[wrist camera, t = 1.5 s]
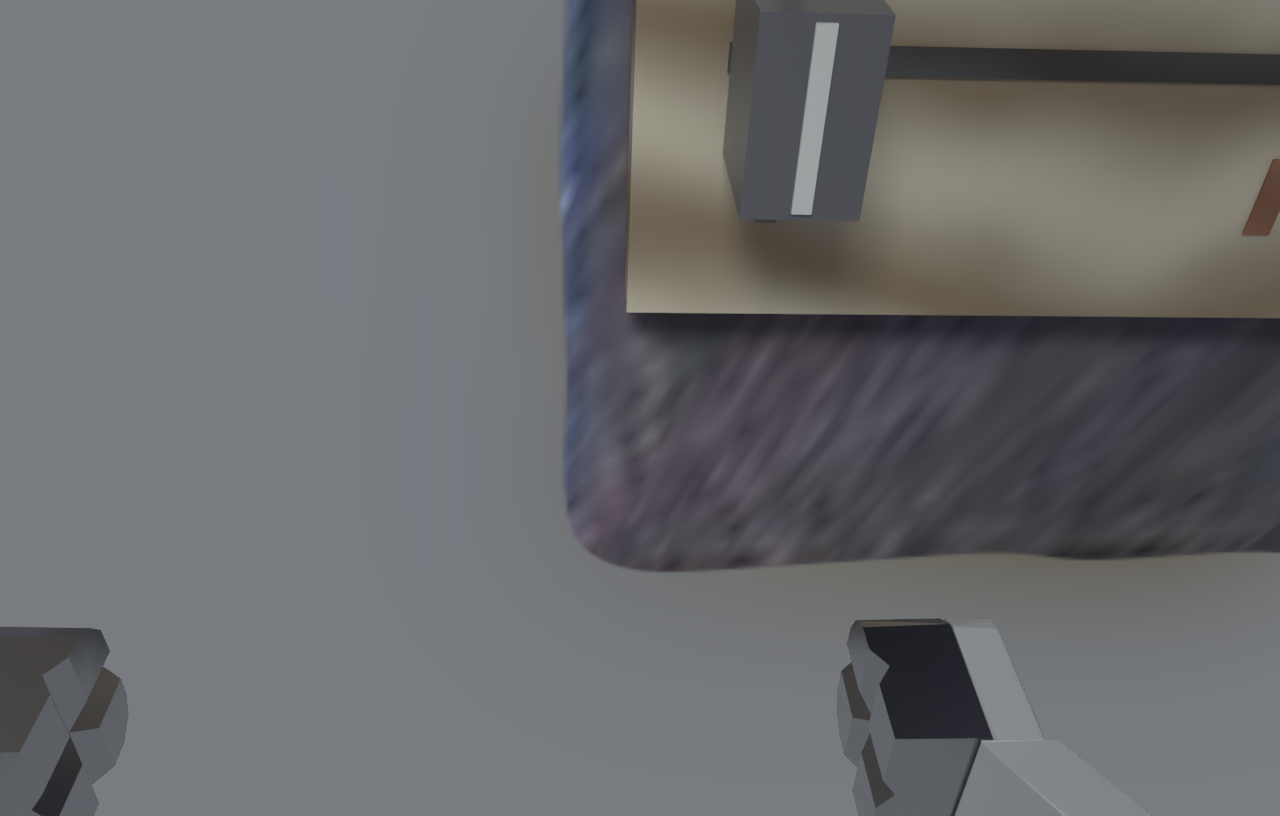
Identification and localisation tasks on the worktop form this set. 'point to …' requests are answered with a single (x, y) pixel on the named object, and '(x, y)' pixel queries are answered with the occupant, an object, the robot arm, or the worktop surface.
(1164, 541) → the worktop surface
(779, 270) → the console
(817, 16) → the fader knob
